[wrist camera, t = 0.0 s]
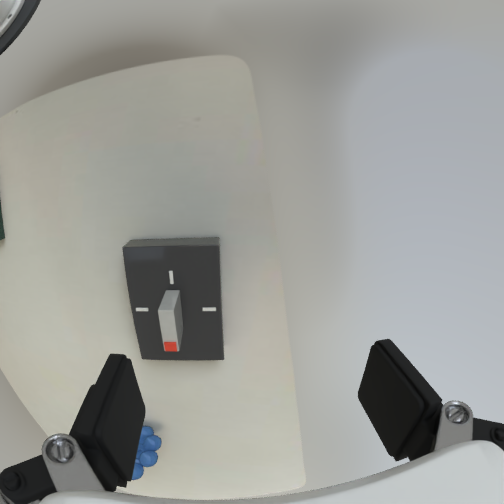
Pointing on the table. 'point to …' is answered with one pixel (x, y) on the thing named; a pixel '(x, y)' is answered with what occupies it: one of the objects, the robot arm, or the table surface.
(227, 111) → the table surface
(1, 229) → the control block
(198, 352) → the lever switch base
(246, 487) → the table surface
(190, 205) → the table surface
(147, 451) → the grapes
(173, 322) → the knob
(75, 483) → the robot arm
